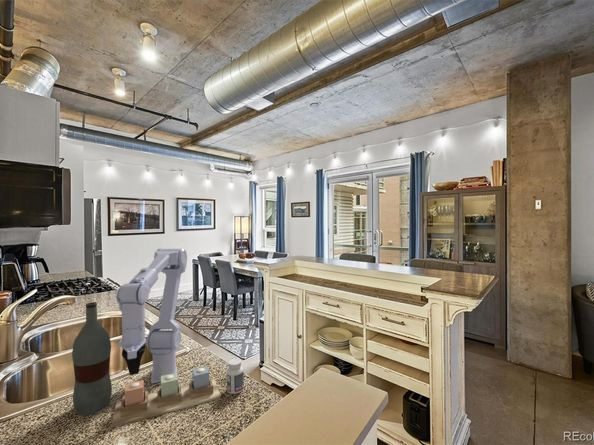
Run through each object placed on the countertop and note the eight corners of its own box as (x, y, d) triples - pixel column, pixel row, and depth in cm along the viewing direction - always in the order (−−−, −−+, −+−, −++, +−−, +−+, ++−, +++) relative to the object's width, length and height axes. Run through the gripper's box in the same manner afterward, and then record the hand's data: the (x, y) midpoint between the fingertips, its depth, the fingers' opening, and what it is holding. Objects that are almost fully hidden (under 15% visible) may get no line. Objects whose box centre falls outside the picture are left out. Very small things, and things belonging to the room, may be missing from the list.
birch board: (116, 403, 85) (116, 393, 85) (214, 380, 98) (214, 371, 98) (111, 427, 76) (111, 416, 76) (220, 398, 88) (220, 388, 88)
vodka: (117, 395, 89) (116, 298, 89) (102, 415, 80) (101, 307, 80) (84, 398, 88) (82, 299, 88) (65, 419, 79) (63, 309, 79)
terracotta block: (126, 399, 84) (126, 382, 84) (143, 395, 86) (143, 379, 86) (125, 408, 80) (124, 391, 80) (143, 403, 82) (142, 386, 82)
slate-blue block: (192, 383, 91) (192, 368, 91) (207, 379, 93) (207, 365, 93) (194, 390, 88) (194, 375, 87) (209, 386, 89) (209, 371, 89)
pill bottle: (245, 385, 94) (245, 358, 94) (241, 394, 89) (240, 366, 89) (229, 384, 95) (229, 357, 95) (224, 394, 90) (224, 365, 90)
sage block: (161, 390, 88) (160, 375, 88) (176, 387, 89) (176, 371, 89) (161, 398, 84) (161, 382, 84) (177, 394, 86) (177, 378, 85)
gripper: (120, 319, 87) (120, 364, 87) (113, 337, 74) (114, 390, 74) (146, 316, 90) (147, 359, 90) (144, 332, 77) (145, 383, 77)
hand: (134, 373), depth 83 cm, fingers closed
